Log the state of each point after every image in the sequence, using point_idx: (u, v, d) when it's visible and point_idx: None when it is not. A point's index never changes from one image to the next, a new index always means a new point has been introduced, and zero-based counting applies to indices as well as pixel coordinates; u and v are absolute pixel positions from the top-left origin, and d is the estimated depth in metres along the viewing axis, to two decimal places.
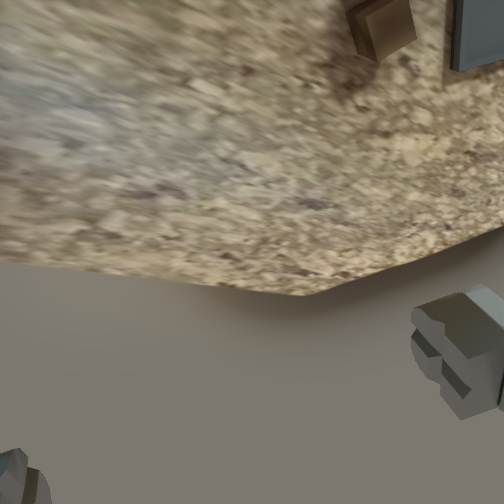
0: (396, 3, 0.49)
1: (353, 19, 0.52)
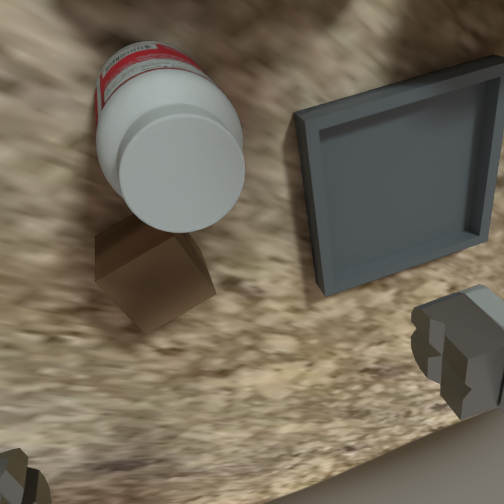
0: (156, 253, 0.25)
1: None
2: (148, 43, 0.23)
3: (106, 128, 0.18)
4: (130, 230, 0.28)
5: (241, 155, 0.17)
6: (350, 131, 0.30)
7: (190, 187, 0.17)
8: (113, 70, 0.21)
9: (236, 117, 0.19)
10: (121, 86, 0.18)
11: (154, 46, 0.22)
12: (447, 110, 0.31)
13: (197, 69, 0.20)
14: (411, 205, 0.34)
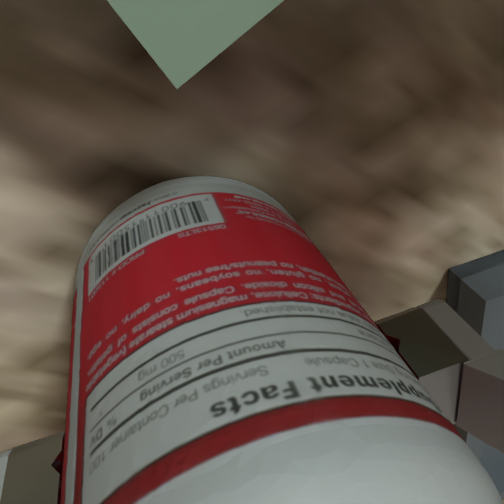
0: None
1: None
2: (196, 192, 0.10)
3: None
4: None
5: None
6: None
7: None
8: (114, 304, 0.08)
9: None
10: None
11: (214, 209, 0.09)
12: None
13: (354, 324, 0.07)
14: None
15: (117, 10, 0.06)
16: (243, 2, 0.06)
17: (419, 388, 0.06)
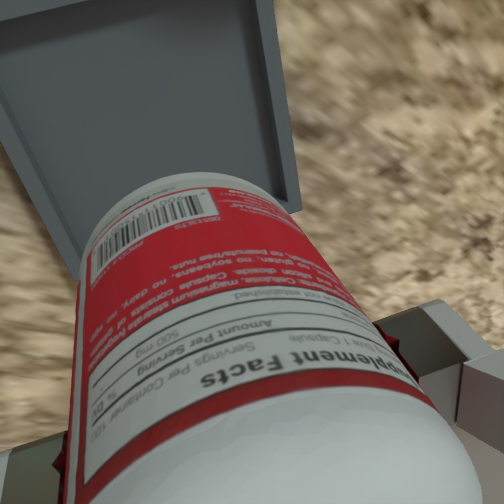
0: None
1: None
2: (193, 187, 0.10)
3: None
4: None
5: None
6: (42, 42, 0.21)
7: None
8: (115, 291, 0.08)
9: (480, 488, 0.06)
10: (138, 464, 0.05)
11: (209, 203, 0.10)
12: (194, 17, 0.22)
13: (339, 307, 0.07)
14: (181, 158, 0.26)
15: None
16: None
17: (398, 365, 0.07)
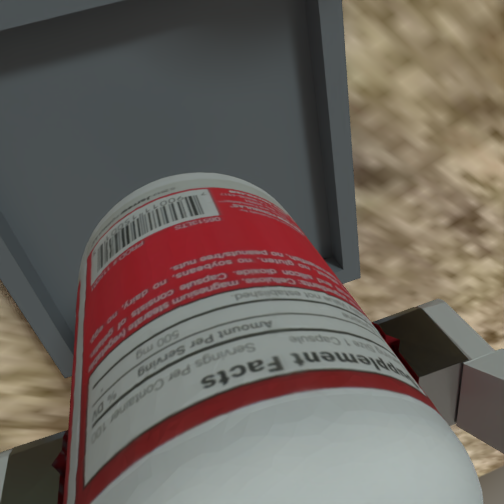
0: None
1: None
2: (193, 187, 0.10)
3: None
4: None
5: None
6: (13, 70, 0.15)
7: None
8: (115, 292, 0.08)
9: (480, 489, 0.06)
10: (138, 466, 0.05)
11: (209, 203, 0.10)
12: (229, 33, 0.16)
13: (339, 308, 0.07)
14: None
15: None
16: None
17: (398, 366, 0.07)
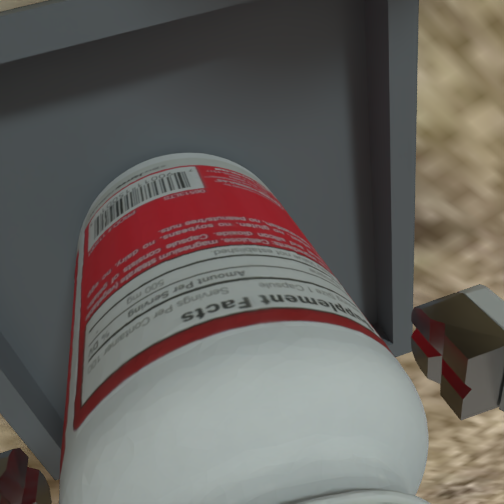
0: None
1: None
2: (181, 164, 0.11)
3: None
4: None
5: None
6: None
7: None
8: (109, 253, 0.09)
9: (424, 415, 0.07)
10: (127, 382, 0.06)
11: (196, 178, 0.11)
12: (268, 69, 0.12)
13: (307, 265, 0.08)
14: None
15: None
16: None
17: (356, 312, 0.08)
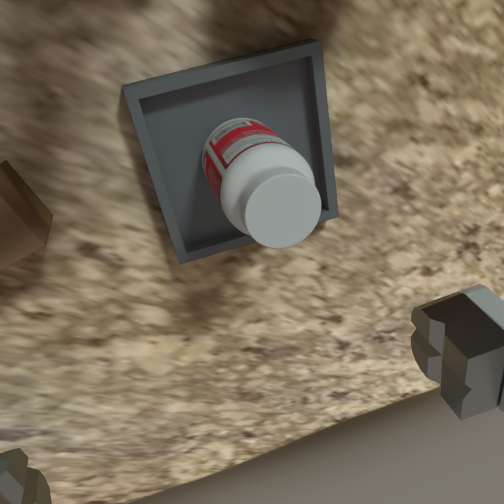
0: None
1: None
2: (243, 120, 0.33)
3: (231, 181, 0.27)
4: None
5: (319, 198, 0.27)
6: (178, 104, 0.33)
7: (287, 218, 0.27)
8: (225, 140, 0.31)
9: (311, 173, 0.29)
10: (240, 154, 0.28)
11: (248, 123, 0.32)
12: (273, 88, 0.34)
13: (283, 140, 0.30)
14: None
15: None
16: None
17: None
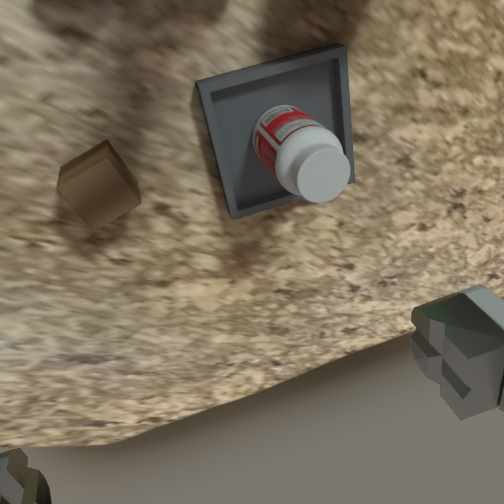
0: (96, 170, 0.39)
1: None
2: (285, 107, 0.43)
3: (285, 154, 0.38)
4: (83, 159, 0.41)
5: (349, 166, 0.37)
6: (236, 95, 0.43)
7: (326, 181, 0.37)
8: (275, 123, 0.41)
9: (341, 147, 0.39)
10: (291, 134, 0.38)
11: (291, 109, 0.43)
12: (307, 81, 0.44)
13: (319, 123, 0.40)
14: None
15: None
16: None
17: None
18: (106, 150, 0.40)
